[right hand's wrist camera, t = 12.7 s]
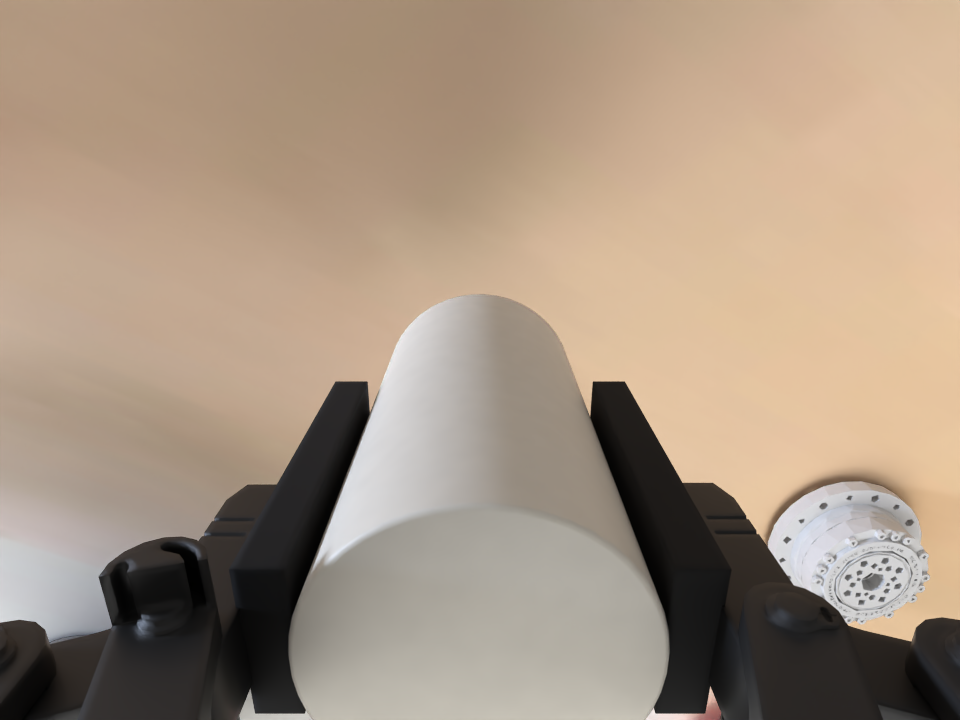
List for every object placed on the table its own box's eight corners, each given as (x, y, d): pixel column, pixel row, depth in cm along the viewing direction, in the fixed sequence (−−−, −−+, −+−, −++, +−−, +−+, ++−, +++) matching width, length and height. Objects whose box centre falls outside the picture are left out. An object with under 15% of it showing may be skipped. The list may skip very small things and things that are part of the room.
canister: (389, 454, 19) (296, 790, 9) (389, 288, 17) (273, 495, 7) (559, 462, 19) (640, 802, 9) (578, 298, 17) (705, 515, 8)
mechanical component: (744, 580, 44) (869, 603, 45) (771, 627, 40) (908, 651, 41) (798, 466, 41) (933, 493, 42) (834, 504, 37) (982, 533, 38)
